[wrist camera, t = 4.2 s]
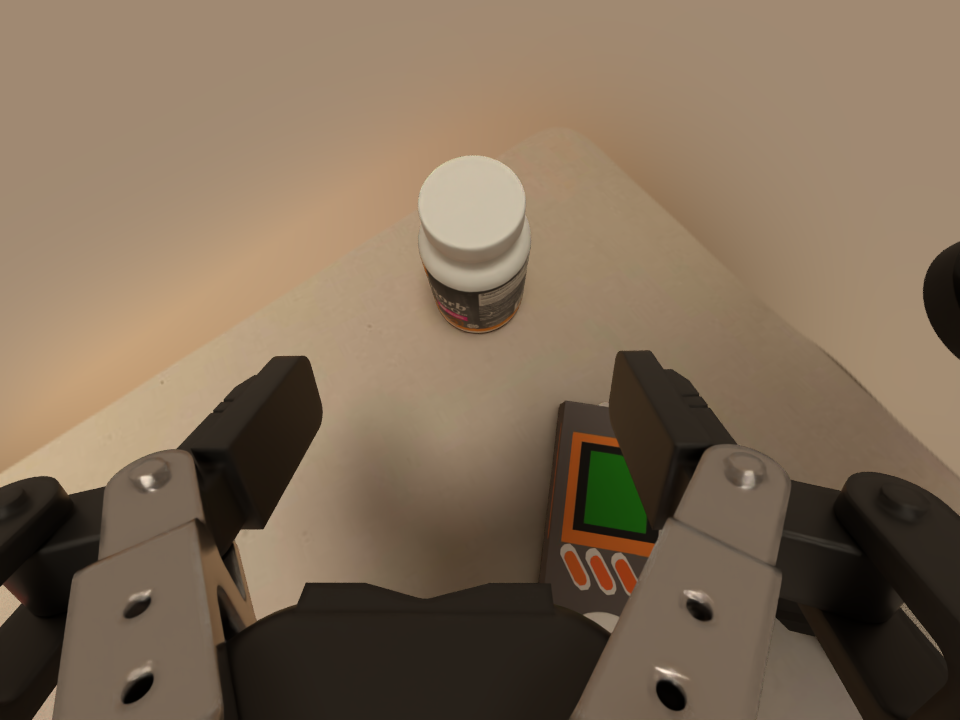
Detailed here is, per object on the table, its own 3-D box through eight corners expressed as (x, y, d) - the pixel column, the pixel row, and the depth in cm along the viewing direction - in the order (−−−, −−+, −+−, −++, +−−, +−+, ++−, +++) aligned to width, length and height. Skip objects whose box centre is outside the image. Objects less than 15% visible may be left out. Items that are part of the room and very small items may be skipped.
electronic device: (530, 712, 19) (567, 393, 22) (526, 678, 22) (559, 399, 25) (680, 743, 19) (697, 412, 22) (655, 704, 22) (673, 416, 25)
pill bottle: (418, 290, 28) (377, 194, 18) (484, 239, 28) (478, 121, 19) (473, 353, 26) (460, 286, 17) (541, 298, 27) (565, 203, 18)
